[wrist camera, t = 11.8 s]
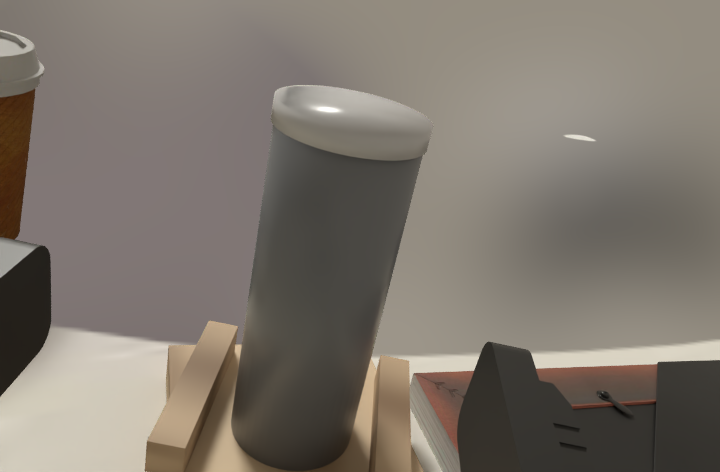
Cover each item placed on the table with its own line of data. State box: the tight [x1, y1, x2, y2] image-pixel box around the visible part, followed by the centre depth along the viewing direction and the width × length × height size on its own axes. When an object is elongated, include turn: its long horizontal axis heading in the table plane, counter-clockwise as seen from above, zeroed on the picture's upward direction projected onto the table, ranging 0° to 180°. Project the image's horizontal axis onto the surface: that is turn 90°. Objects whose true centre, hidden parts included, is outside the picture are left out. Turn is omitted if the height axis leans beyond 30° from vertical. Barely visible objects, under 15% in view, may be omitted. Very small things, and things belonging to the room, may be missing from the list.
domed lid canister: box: [231, 85, 433, 471], centre depth 24 cm, size 5×5×14 cm
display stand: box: [145, 321, 424, 472], centre depth 27 cm, size 12×11×4 cm
